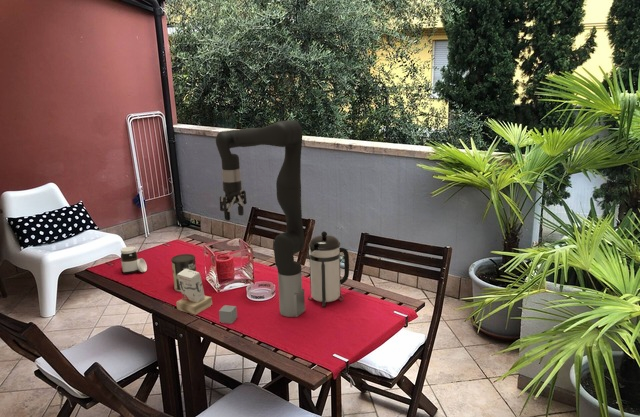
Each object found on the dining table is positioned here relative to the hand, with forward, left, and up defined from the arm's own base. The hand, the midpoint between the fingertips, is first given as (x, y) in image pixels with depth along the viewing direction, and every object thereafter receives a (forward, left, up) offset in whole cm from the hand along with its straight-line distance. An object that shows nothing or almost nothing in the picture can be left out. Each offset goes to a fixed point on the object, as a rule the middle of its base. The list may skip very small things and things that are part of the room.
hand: (234, 217), depth 213 cm
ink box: (+8, +19, -30) cm, 37 cm away
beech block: (+8, +20, -35) cm, 41 cm away
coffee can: (+26, +6, -34) cm, 43 cm away
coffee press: (-37, -12, -34) cm, 52 cm away
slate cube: (-12, +22, -34) cm, 42 cm away
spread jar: (+63, +3, -34) cm, 72 cm away
